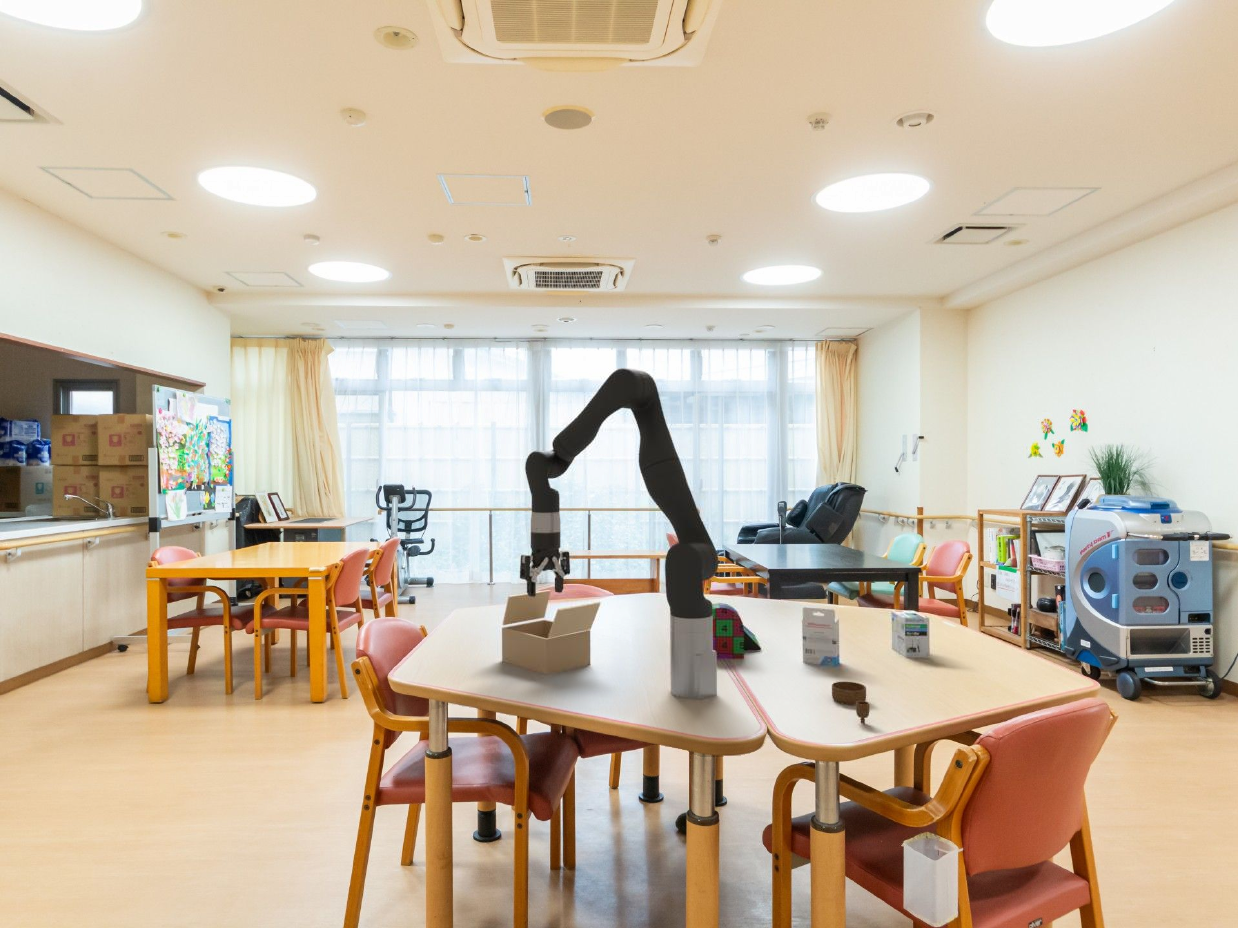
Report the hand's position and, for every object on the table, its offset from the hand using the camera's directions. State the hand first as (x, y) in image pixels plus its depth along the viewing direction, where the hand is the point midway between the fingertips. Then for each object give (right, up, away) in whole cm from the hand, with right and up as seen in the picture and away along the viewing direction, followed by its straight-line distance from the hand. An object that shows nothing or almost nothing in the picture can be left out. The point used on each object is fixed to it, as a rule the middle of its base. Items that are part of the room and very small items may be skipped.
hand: (545, 594), depth 185 cm
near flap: (+8, -4, -8) cm, 12 cm away
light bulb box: (+97, -18, +13) cm, 100 cm away
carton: (0, -19, 0) cm, 19 cm away
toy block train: (+49, -19, +19) cm, 56 cm away
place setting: (+65, -19, -34) cm, 75 cm away
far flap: (-5, -4, +5) cm, 9 cm away
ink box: (+70, -19, +2) cm, 73 cm away
